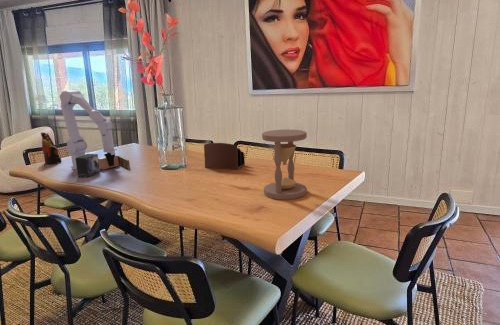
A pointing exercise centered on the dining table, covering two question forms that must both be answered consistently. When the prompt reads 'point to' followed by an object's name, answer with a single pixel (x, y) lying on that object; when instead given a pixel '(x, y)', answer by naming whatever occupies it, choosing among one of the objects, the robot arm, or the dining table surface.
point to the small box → (87, 165)
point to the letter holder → (223, 156)
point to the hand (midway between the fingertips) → (111, 165)
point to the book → (104, 163)
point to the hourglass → (283, 152)
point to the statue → (49, 150)
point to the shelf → (123, 162)
